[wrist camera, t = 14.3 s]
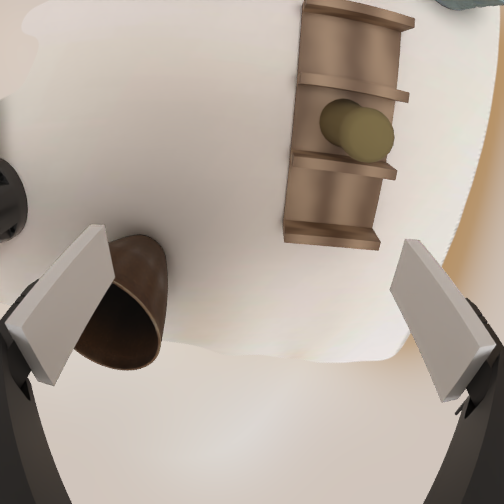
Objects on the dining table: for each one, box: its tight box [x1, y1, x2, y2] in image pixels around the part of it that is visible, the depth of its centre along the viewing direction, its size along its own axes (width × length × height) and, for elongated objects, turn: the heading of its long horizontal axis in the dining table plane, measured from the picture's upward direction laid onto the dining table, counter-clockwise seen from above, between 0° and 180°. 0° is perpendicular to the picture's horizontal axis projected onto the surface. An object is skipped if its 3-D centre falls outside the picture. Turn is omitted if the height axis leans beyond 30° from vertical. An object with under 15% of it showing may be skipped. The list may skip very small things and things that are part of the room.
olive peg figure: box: [319, 98, 394, 163], centre depth 29 cm, size 6×6×11 cm
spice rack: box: [283, 0, 415, 250], centre depth 32 cm, size 12×29×5 cm, turn 177°
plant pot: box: [74, 235, 168, 370], centre depth 39 cm, size 15×15×16 cm
